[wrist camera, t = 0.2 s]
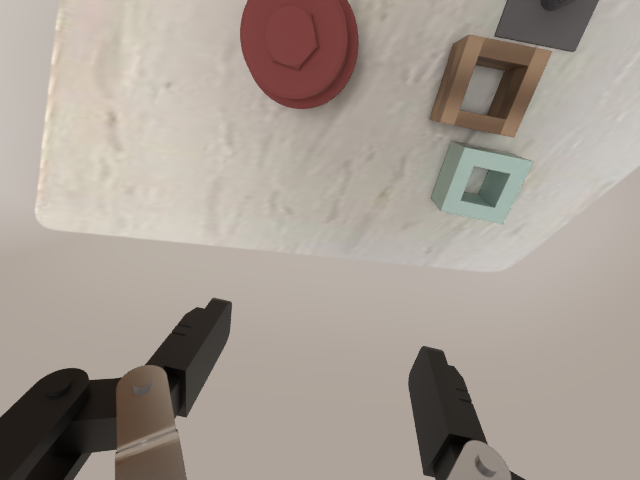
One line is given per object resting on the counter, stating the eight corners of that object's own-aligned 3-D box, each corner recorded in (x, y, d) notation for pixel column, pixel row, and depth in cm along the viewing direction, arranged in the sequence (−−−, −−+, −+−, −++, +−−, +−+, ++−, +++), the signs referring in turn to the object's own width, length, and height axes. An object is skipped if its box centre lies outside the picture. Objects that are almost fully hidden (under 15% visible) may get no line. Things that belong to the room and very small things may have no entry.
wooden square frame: (453, 43, 32) (469, 34, 27) (524, 58, 31) (552, 51, 27) (429, 119, 35) (440, 122, 30) (493, 132, 35) (514, 137, 30)
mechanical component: (313, -25, 31) (377, 58, 33) (249, 56, 34) (311, 125, 37) (287, -96, 19) (387, 37, 22) (197, 35, 23) (291, 137, 25)
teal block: (451, 141, 36) (464, 147, 31) (511, 153, 35) (533, 161, 31) (430, 198, 39) (440, 211, 34) (485, 209, 38) (503, 224, 34)
